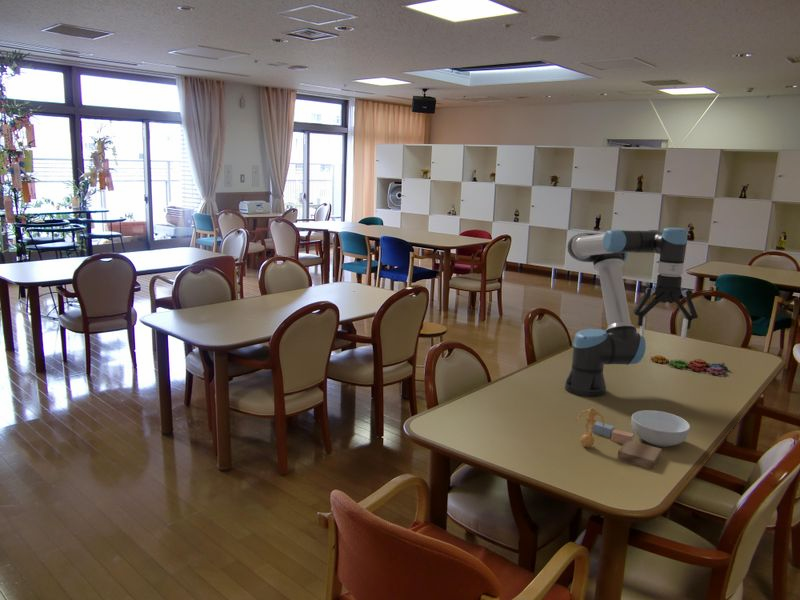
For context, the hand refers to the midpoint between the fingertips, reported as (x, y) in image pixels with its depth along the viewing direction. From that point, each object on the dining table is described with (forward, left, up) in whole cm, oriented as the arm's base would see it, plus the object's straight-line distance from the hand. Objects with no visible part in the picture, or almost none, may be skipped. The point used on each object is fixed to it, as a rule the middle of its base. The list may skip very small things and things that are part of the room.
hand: (662, 336), depth 212 cm
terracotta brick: (-3, -29, -28) cm, 41 cm away
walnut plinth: (+5, -38, -29) cm, 48 cm away
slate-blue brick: (-9, -27, -28) cm, 40 cm away
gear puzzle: (-2, +72, -29) cm, 78 cm away
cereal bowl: (+6, -22, -28) cm, 36 cm away
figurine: (-10, -39, -28) cm, 49 cm away
